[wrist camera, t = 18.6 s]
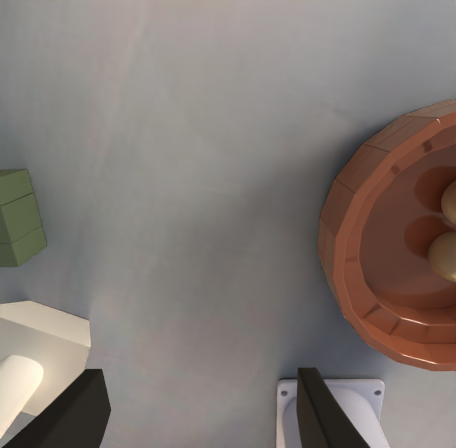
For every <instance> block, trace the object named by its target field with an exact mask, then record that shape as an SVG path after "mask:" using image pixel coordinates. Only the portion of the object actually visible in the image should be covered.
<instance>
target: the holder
mask: <svg viewBox="0 0 456 448" xmlns="http://www.w3.org/2000/svg"><path fill="white" fill-rule="evenodd" d="M41 225H42V223H41V219H40V215H39V211H38V207H37V203H36V199H35V195H34V193H33V189H32V185H31V181H30V177H29V173H28V170H27V169H18V170H0V267H19V266H20V265H22V264H23V263H25V262H26V261H27V260H29V259H30V258H31V257H33V256H34V255H36V254H37V253H38V252H40V251H41V250H42V249H44V248H45V247H47V243H46V239H45V235H44V231H43V227H42V226H41Z"/></svg>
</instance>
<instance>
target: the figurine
mask: <svg viewBox="0 0 456 448" xmlns="http://www.w3.org/2000/svg"><path fill="white" fill-rule="evenodd" d="M90 348H91V344H90V330H89V320H86V319H83V318H80V317H77V316H74V315H71V314H68V313H65V312H62V311H59V310H56V309H53V308H51V307H48V306H45V305H42V304H39V303H36V302H33V301H23V302H15V303H8V304H0V438H1V437H2V436H3V434H4V433H5V432H6V430H7V429H8V427H9V426H10V425H11V423H12V422H13V420H14V419H15V418H16V416H17V415H18V414H19V412H20V411H22V412H25V413H28V414H31V415H35V416H38V415H39V414H40V413H41V412H42V411H43V410H44V409H45V408H46V407H47V406H48V405H49V404H51V403H52V402H53V401H54V400H55V399H56V398H57V397H58V396H59V395H60V394H61V393H62V392H63V391H64V390H65V389H66V388H67V387H68V386H69V385H70V384H71V383H72V382H73V381H74V380H75V379H76V378H77V377H78V376H79V375H80V374H81V373H82V372H83V371H84V368H85V364H86V361H87V358H88V355H89V351H90Z"/></svg>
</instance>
